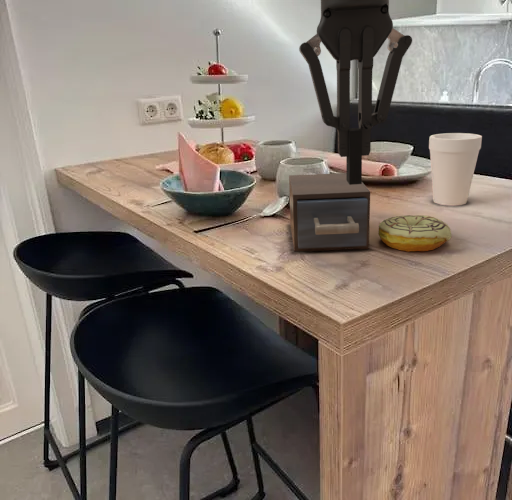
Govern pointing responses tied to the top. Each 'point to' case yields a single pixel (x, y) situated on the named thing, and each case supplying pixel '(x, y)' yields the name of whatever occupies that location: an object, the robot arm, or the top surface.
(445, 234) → the decorated donut
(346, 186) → the cabinet
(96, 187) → the top surface
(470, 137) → the foam cup
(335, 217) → the drawer
